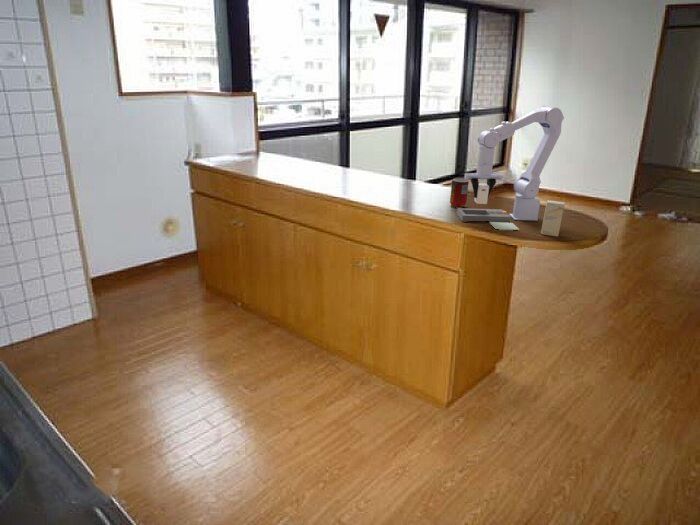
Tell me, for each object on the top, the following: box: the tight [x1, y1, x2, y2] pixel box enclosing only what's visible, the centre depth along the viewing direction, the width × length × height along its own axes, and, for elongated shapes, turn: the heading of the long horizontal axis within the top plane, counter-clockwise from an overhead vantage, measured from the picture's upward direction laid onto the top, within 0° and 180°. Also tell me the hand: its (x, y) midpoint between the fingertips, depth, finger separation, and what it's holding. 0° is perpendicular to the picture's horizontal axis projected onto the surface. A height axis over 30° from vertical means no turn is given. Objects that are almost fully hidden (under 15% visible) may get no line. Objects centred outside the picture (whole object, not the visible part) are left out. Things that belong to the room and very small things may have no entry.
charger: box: [473, 183, 489, 205], centre depth 202 cm, size 4×5×7 cm
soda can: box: [449, 177, 470, 209], centre depth 222 cm, size 7×7×12 cm
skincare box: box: [540, 199, 566, 237], centre depth 187 cm, size 6×4×12 cm
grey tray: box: [456, 207, 512, 223], centre depth 206 cm, size 19×11×3 cm, turn 90°
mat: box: [488, 222, 520, 232], centre depth 196 cm, size 9×9×1 cm
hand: (481, 197), depth 203 cm, fingers closed on charger, 4 cm apart
